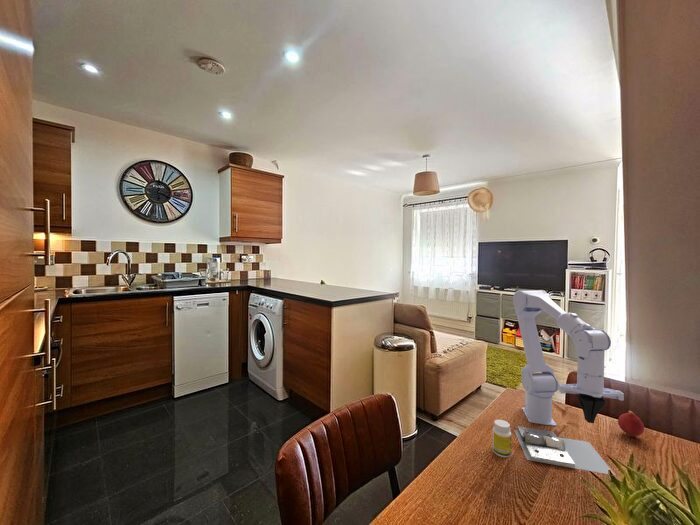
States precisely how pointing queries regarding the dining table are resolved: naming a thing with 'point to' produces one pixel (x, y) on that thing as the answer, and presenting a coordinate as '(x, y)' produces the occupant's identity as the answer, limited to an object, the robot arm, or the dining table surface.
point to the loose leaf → (551, 452)
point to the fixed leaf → (534, 436)
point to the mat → (578, 455)
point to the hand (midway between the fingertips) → (589, 421)
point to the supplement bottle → (501, 438)
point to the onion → (631, 424)
